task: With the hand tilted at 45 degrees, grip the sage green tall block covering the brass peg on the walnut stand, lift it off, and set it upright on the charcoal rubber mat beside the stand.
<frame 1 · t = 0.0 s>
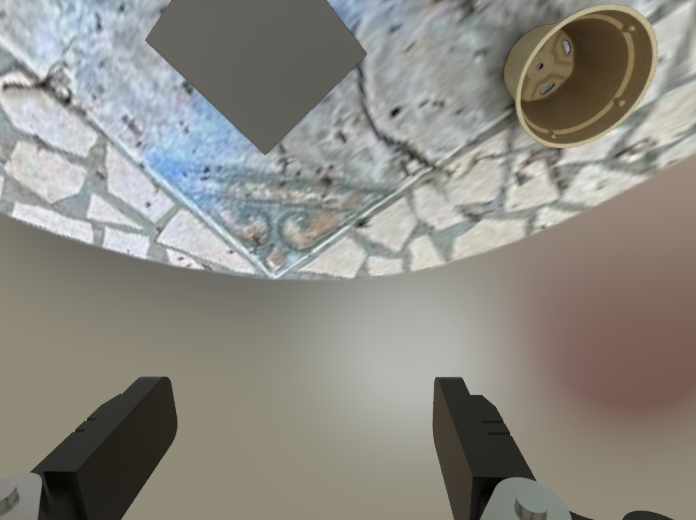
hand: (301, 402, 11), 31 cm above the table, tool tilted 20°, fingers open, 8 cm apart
flower pot: (536, 64, 34), on the table
mat: (257, 46, 33), on the table
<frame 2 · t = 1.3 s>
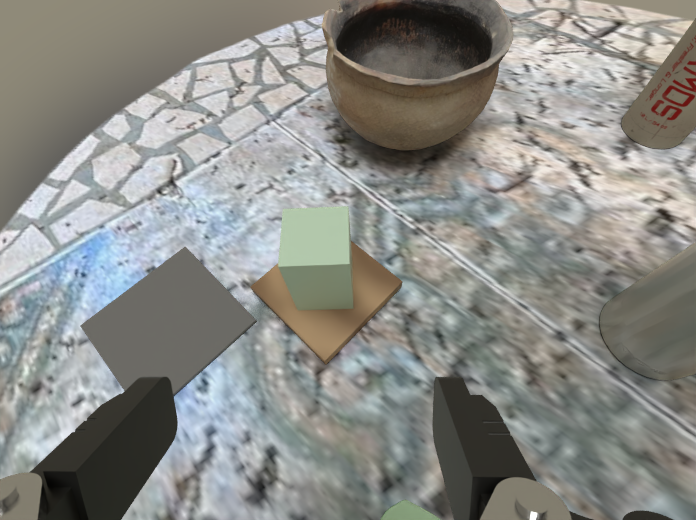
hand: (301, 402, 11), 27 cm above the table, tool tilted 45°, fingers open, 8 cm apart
thermos bottle: (650, 130, 52), on the table
peg stand: (327, 289, 42), on the table
sage green tall block: (325, 284, 41), point 1 cm above the table, touching peg stand
ceramic bowl: (404, 124, 55), on the table
mat: (169, 324, 41), on the table
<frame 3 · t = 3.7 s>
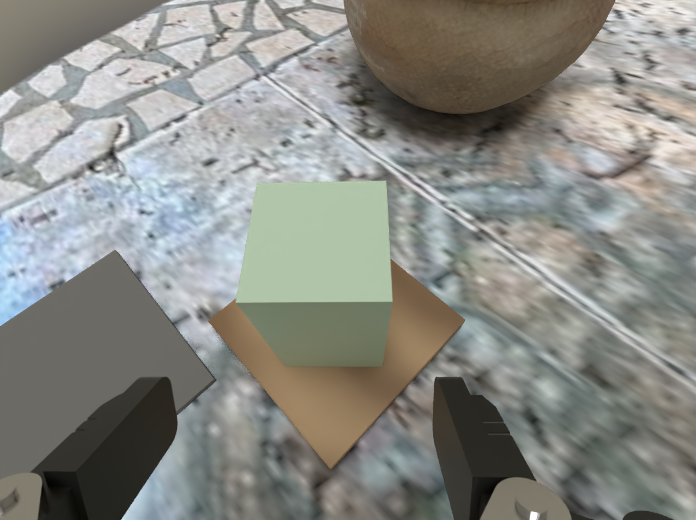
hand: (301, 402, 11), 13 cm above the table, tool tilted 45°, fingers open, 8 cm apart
peg stand: (336, 328, 25), on the table
sage green tall block: (334, 320, 24), point 1 cm above the table, touching peg stand
ceramic bowl: (450, 83, 39), on the table
mat: (69, 380, 24), on the table
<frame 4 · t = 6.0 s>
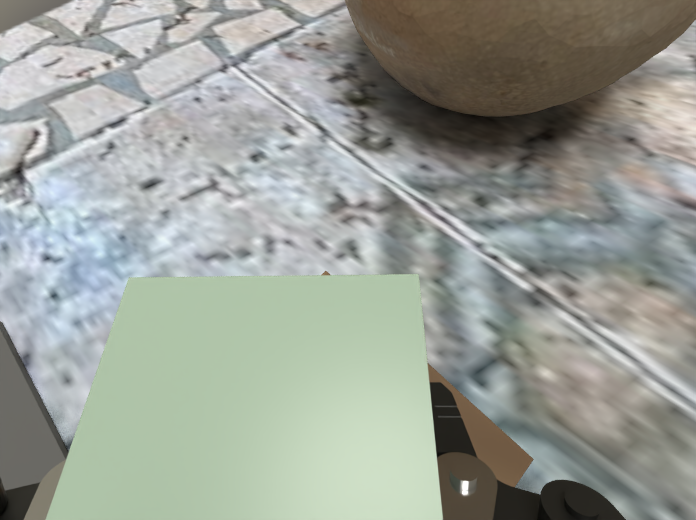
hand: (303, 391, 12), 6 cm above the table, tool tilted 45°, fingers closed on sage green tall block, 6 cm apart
peg stand: (321, 458, 16), on the table
sage green tall block: (318, 457, 15), point 2 cm above the table, touching gripper, peg stand
ceramic bowl: (478, 75, 29), on the table
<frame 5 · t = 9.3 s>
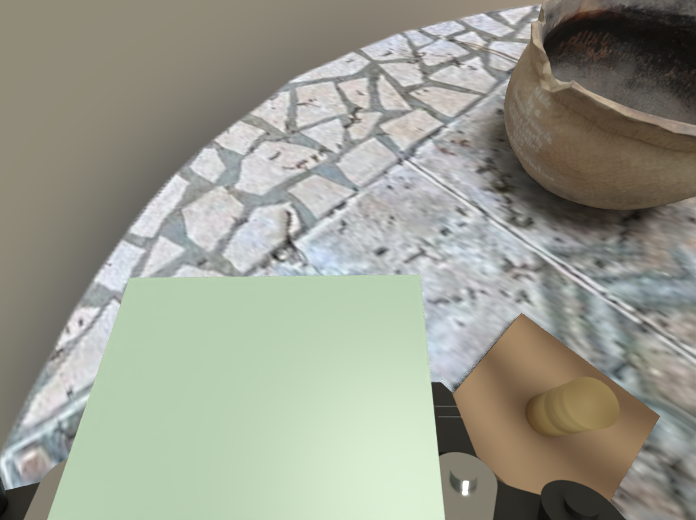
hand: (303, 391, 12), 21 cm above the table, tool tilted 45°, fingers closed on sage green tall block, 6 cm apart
peg stand: (538, 417, 30), on the table
sage green tall block: (318, 457, 15), point 17 cm above the table, touching gripper
ceramic bowl: (581, 167, 43), on the table
when the fingers open (6 cm above the table, at t = 12.8 s): sage green tall block drops 1 cm, resting on mat.
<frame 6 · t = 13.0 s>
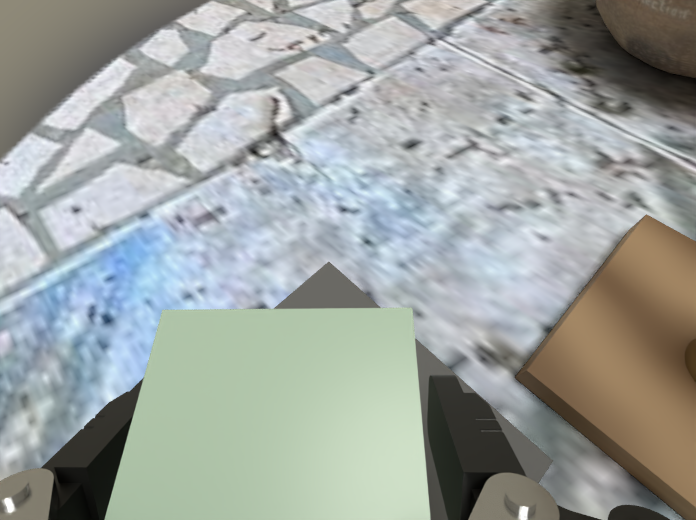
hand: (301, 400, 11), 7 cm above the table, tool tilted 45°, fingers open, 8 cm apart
sage green tall block: (322, 461, 16), resting on mat
ceramic bowl: (684, 47, 31), on the table
mat: (322, 459, 16), on the table
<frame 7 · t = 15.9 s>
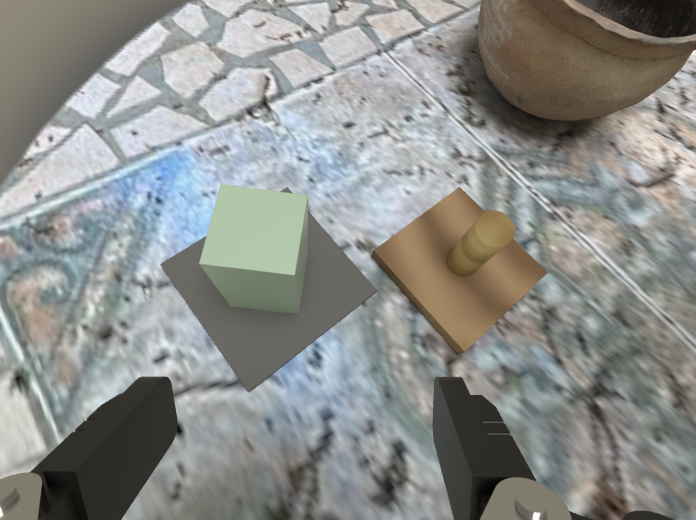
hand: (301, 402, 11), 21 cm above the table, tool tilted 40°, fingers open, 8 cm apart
peg stand: (456, 267, 36), on the table
sage green tall block: (270, 278, 33), resting on mat
ceramic bowl: (535, 88, 48), on the table
mat: (270, 279, 34), on the table
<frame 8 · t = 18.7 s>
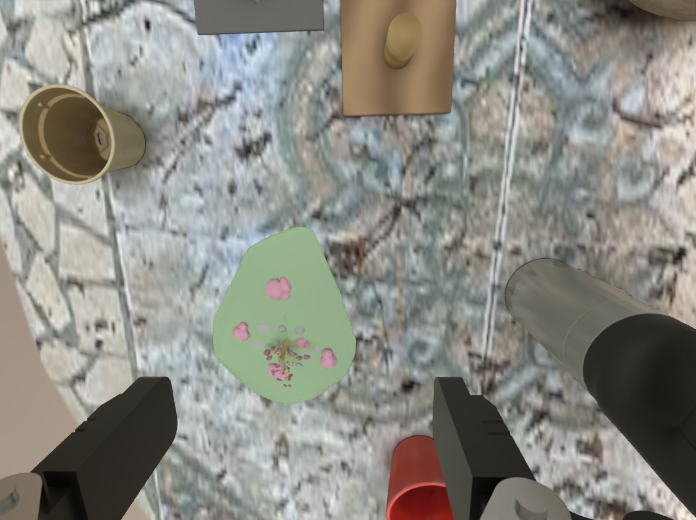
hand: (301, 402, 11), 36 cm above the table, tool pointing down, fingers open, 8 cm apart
flower pot: (122, 140, 45), on the table
plant: (285, 316, 50), on the table
peg stand: (396, 57, 41), on the table
flower pot 2: (418, 455, 55), on the table
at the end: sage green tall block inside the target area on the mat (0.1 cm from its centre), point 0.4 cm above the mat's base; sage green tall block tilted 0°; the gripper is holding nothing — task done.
